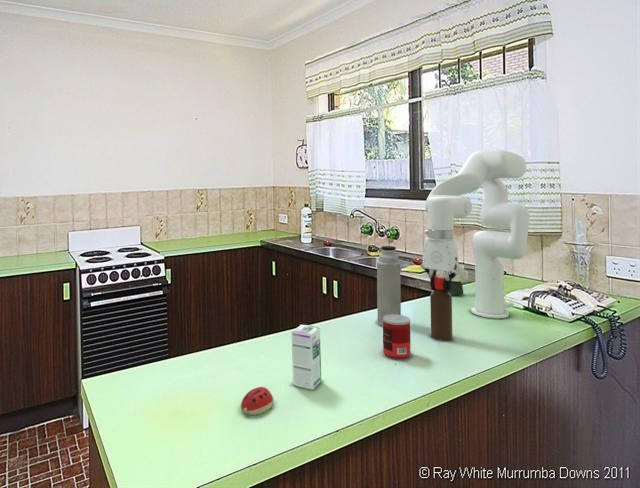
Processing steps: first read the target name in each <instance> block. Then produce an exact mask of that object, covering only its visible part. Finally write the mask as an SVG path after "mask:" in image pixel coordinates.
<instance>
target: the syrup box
mask: <svg viewBox="0 0 640 488" xmlns="http://www.w3.org/2000/svg"><path fill="white" fill-rule="evenodd" d="M321 351H322V350H321V328H320V327H318V326H314V325H309V324H299V326H297V327H296V328H294V329H293V330H291V358H292V359H291V360H292V361H291V362H292V384H293V386H296V387H300V388H303V389H306V390H311V391H313V390H315V388H316V387H317V386H318V385H319V384H320V383H321V382H322V358H321V357H322V356H321V354H322V352H321Z"/></svg>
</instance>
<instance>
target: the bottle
mask: <svg viewBox="0 0 640 488" xmlns="http://www.w3.org/2000/svg"><path fill="white" fill-rule="evenodd" d="M429 300H430V337H431V338H432V339H434V340H436V341H442V342H449V341H451V340H453V295H451V294H450V293H449V292H447V293H445V292H444V290H439V289H435V290H432V291H431V292H430V299H429Z"/></svg>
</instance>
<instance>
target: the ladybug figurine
mask: <svg viewBox="0 0 640 488" xmlns="http://www.w3.org/2000/svg"><path fill="white" fill-rule="evenodd" d="M273 404H274V396H273V394H272V391H270V389H269V388H267V387H265V386H257V387H255V388H252V389H251V390H249V391H248V392H247V393H246V394H245V395H244V396H243V397H242V400H241V403H240V410H241V411H242V413H244V414H246V415H251V416H253V415H259V414H262V413H264V412H266V411H268V410H269V409H270V408H271V407H272V406H273Z"/></svg>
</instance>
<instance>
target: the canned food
mask: <svg viewBox="0 0 640 488" xmlns="http://www.w3.org/2000/svg"><path fill="white" fill-rule="evenodd" d="M382 351H383V355H384V356H385V357H387V358H389V359H392V360H406V359H408V358H409V357H410V356H411V319H410V318H409V317H408V316H406V315H403V314H401V315H395V314H392V315H386V316H384V317H383V326H382Z"/></svg>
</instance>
